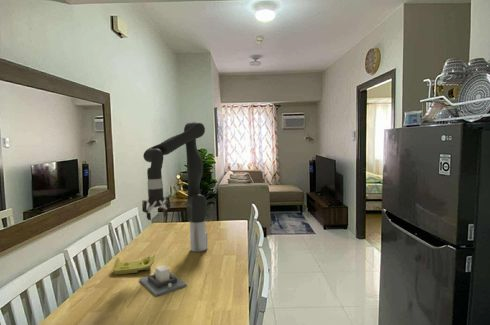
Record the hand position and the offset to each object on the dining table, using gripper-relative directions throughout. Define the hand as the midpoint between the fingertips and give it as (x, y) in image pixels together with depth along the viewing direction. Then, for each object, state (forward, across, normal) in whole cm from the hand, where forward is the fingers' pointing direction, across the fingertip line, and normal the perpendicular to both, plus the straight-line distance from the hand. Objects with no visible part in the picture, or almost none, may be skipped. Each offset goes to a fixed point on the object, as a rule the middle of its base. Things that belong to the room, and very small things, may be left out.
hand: (157, 218), depth 156 cm
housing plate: (+24, +9, +22) cm, 34 cm away
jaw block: (+23, +9, +22) cm, 33 cm away
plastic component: (+24, +13, -1) cm, 28 cm away
